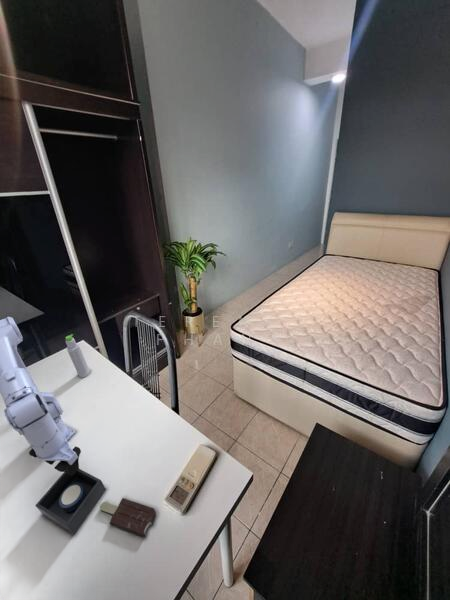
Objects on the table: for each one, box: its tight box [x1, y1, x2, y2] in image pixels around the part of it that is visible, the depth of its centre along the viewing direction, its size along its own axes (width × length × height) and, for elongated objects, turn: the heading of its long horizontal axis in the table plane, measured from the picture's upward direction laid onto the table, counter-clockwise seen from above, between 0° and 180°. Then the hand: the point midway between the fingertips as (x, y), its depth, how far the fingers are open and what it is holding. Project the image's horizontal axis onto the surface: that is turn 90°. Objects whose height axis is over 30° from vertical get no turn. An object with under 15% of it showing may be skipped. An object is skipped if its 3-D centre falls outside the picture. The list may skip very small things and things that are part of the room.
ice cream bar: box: [99, 497, 157, 538], centre depth 62 cm, size 5×2×15 cm
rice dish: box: [59, 483, 86, 512], centre depth 65 cm, size 6×6×3 cm
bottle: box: [65, 333, 91, 378], centre depth 102 cm, size 4×4×20 cm
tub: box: [34, 468, 107, 536], centre depth 64 cm, size 11×10×5 cm
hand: (64, 466), depth 65 cm, fingers open, 7 cm apart
